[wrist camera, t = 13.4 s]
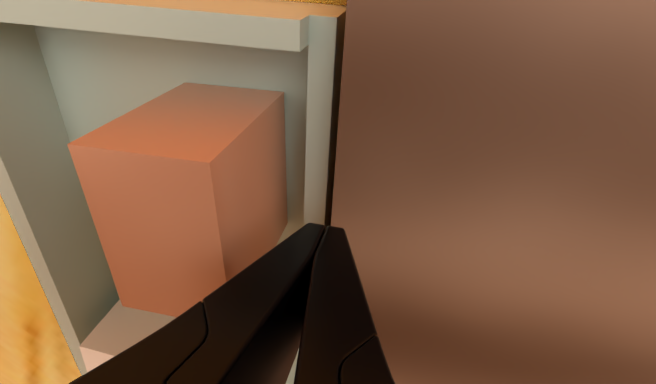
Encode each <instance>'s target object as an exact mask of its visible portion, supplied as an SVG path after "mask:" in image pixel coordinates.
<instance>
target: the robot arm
mask: <svg viewBox="0 0 656 384" xmlns="http://www.w3.org/2000/svg"><path fill="white" fill-rule="evenodd" d="M202 301H203V302H202ZM202 301H199V302H198V303H196V304H195V305H193V306H192V307H191V308H189V309H188V310H187V311H185V312H184V313H182V314H181V315H179V316H178V317H176V318H175V319H173V320H172V321H171V322H169V323H168V324H166V325H165V326H163V327H162V328H160V329H159V330H157V331H155V332H154V333H152V334H151V335H149V336H147V337H146V338H144V339H142V340H141V341H139V342H138V343H136V344H134V345H133V346H131V347H129V348H128V349H126V350H124V351H123V352H121V353H119V354H118V355H116V356H114V357H113V358H111V359H109V360H107V361H106V362H104V363H102V364H101V365H99V366H97V367H96V368H94V369H92V370H91V371H89V372H87V373H86V374H84V375H82V376H80V377H79V378H77V379H75V380H74V381H72V382H70V383H69V384H286V381H287V379H288V376H289V373H290V371H291V368H292V365H293V363H294V360H295V357H296V355H297V352H298V349H299V352H298V358H297V365H296V371H295V378H294V384H395V382H394V379H393V377H392V374H391V372H390V369H389V366H388V363H387V360H386V358H385V355H384V352H383V349H382V346H381V342H380V339H379V337H378V334H377V330H376V327H375V324H374V321H373V318H372V314H371V311H370V308H369V305H368V302H367V299H366V295H365V292H364V289H363V286H362V283H361V280H360V276H359V273H358V270H357V267H356V264H355V260H354V257H353V254H352V251H351V248H350V245H349V241H348V238H347V235H346V232H345V230H344V228H341V227H334V226H327V227H325V225H322V224H316V223H307V224H305V225H304V226H303V227H301V228H300V229H299V230H297V231H296V232H294V233H293V234H292V235H290V236H289V237H288V238H286V239H285V240H283V241H282V242H281V243H279V244H278V245H276V246H275V247H274V248H272V249H271V250H270V251H268V252H267V253H265V254H264V255H263V256H261V257H260V258H259V259H257V260H256V261H254V262H253V263H252V264H250V265H249V266H248V267H246V268H245V269H243V270H242V271H241V272H239V273H238V274H236V275H235V276H234V277H232V278H231V279H230V280H228V281H227V282H225V283H224V284H223V285H221V286H220V287H219V288H217V289H216V290H214V291H213V292H212V293H210V294H209V295H207V296H206V297H205V298H203V300H202Z"/></svg>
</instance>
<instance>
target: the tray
mask: <svg viewBox="0 0 656 384" xmlns="http://www.w3.org/2000/svg"><path fill="white" fill-rule="evenodd" d="M346 7H347V6H343V5H331V4H319V3H306V2H294V1H282V0H0V195H1V197H2V199H3V201H4V204H5V206H6V208H7V210H8V212H9V215H10V217H11V219H12V221H13V224H14V226H15V228H16V230H17V233H18V235H19V237H20V239H21V241H22V244H23V246H24V248H25V250H26V253H27V255H28V257H29V259H30V261H31V264H32V266H33V268H34V270H35V273H36V275H37V277H38V279H39V282H40V284H41V286H42V288H43V290H44V293H45V295H46V297H47V299H48V302H49V304H50V306H51V308H52V311H53V313H54V315H55V317H56V319H57V322H58V324H59V326H60V328H61V331H62V333H63V335H64V337H65V340H66V342H67V344H68V346H69V348H70V351H71V353H72V355H73V357H74V360H75V362H76V364H77V366H78V369H79V371H80V373H81V375H84V374H86V373H87V370H86V367H85V363H84V360H83V357H82V354H81V350H80V347H79V346H80V345H81V343H82V342H83V341H84V340H85V339H86V338H87V337H88V335H89V334H90V333H91V332H92V331H93V330H94V328H95V327H96V326H97V325H98V324H99V323H100V321H101V320H102V319H103V318H104V317H105V316H106V315H107V313H108V312H109V311H110V310H111V309H112V308H113V306H114V305H115V304H116V303H117V302H118V301H119V300H120V298H119V295H118V292H117V289H116V286H115V283H114V280H113V277H112V274H111V271H110V268H109V265H108V262H107V259H106V257H105V254H104V251H103V248H102V245H101V242H100V239H99V236H98V233H97V230H96V227H95V224H94V221H93V219H92V216H91V213H90V210H89V207H88V204H87V201H86V198H85V195H84V192H83V189H82V186H81V183H80V180H79V178H78V175H77V172H76V169H75V166H74V163H73V160H72V157H71V154H70V151H69V148H68V145H67V144H68V143H70V142H72V141H74V140H76V139H78V138H80V137H82V136H84V135H86V134H87V133H89V132H91V131H93V130H95V129H97V128H99V127H101V126H103V125H105V124H107V123H108V122H110V121H112V120H114V119H116V118H118V117H120V116H122V115H124V114H126V113H128V112H130V111H131V110H133V109H135V108H137V107H139V106H141V105H143V104H145V103H147V102H149V101H151V100H152V99H154V98H156V97H158V96H160V95H162V94H164V93H166V92H168V91H170V90H172V89H174V88H175V87H177V86H179V85H181V84H183V83H185V82H187V83H197V84H208V85H218V86H228V87H239V88H249V89H259V90H270V91H280V92H284V109H285V145H286V181H287V217H288V223H287V225H286V227H285V229H284V231H283V233H282V235H281V237H280V239H279V241H278V243H277V245H278V244H279V243H281V242H282V241H283V240H285V239H286V238H288V237H289V236H290V235H292V234H293V233H294V232H296V231H297V230H299V229H300V228H301V227H303V226H304V225H305V224H307V223H316V224H322V225H325V227H327V226H331V216H332V202H333V188H334V174H335V160H336V146H337V132H338V119H339V105H340V91H341V77H342V63H343V49H344V35H345V21H346ZM298 352H299V349H298ZM298 352H297V355H296V357H295V360H294V363H293V365H292V368H291V371H290V373H289V376H288V379H287V381H286V384H294V378H295V371H296V365H297V358H298Z"/></svg>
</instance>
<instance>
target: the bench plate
mask: <svg viewBox="0 0 656 384" xmlns="http://www.w3.org/2000/svg"><path fill="white" fill-rule="evenodd" d="M331 226H334V227H341V228H344V230H345V232H346V235H347V238H348V241H349V245H350V248H351V251H352V254H353V257H354V260H355V264H356V267H357V270H358V273H359V276H360V280H361V283H362V286H363V289H364V292H365V295H366V299H367V302H368V305H369V308H370V311H371V314H372V318H373V321H374V324H375V327H376V330H377V334H378V337H379V339H380V342H381V346H382V349H383V352H384V355H385V358H386V360H387V363H388V366H389V369H390V372H391V374H392V377H393V379H394V382H395V384H656V0H347V7H346V21H345V35H344V49H343V63H342V77H341V91H340V105H339V119H338V132H337V146H336V160H335V174H334V188H333V202H332V216H331Z"/></svg>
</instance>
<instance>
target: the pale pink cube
mask: <svg viewBox="0 0 656 384" xmlns="http://www.w3.org/2000/svg"><path fill="white" fill-rule="evenodd" d="M175 318H176V317H173V316H168V315H164V314H159V313H154V312H149V311H144V310H139V309H134V308H129V307H124V306H122V303H121V300H119V301H118V302H117V303H116V304H115V305H114V306H113V308H112V309H111V310H110V311H109V312H108V313H107V315H106V316H105V317H104V318H103V319H102V320H101V321H100V323H99V324H98V325H97V326H96V327H95V328H94V330H93V331H92V332H91V333H90V334H89V335H88V337H87V338H86V339H85V340H84V341H83V342H82V343H81V345H80V346H79V347H80V350H81V354H82V357H83V360H84V363H85V367H86V370H87V372H89V371H91V370H92V369H94V368H96V367H97V366H99V365H101V364H102V363H104V362H106V361H107V360H109V359H111V358H113V357H114V356H116V355H118V354H119V353H121V352H123V351H124V350H126V349H128V348H129V347H131V346H133V345H134V344H136V343H138V342H139V341H141V340H142V339H144V338H146V337H147V336H149V335H151V334H152V333H154V332H155V331H157V330H159V329H160V328H162V327H163V326H165V325H166V324H168V323H169V322H171V321H172V320H173V319H175Z"/></svg>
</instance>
